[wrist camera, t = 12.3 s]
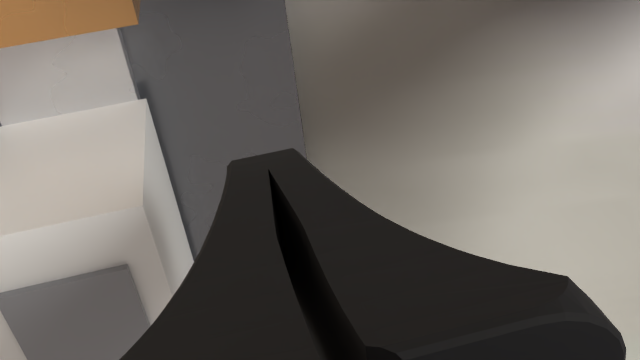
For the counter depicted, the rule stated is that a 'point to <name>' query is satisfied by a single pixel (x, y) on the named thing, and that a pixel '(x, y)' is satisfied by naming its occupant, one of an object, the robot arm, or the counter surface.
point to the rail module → (85, 234)
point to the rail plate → (161, 80)
